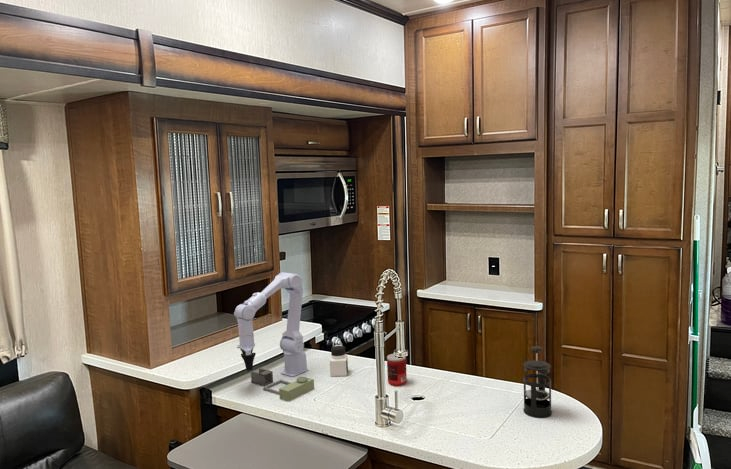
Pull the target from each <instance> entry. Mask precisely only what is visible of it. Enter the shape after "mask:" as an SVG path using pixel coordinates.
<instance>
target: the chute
mask: <svg viewBox="0 0 731 469" xmlns="http://www.w3.org/2000/svg"><path fill="white" fill-rule="evenodd" d="M250 381H251V383H252V384H255V385H257V386H259V387H260V386H261V387H262V388H263V387H265V386H267V385H270V384H272V383H274V372H273V370H270V369H265V368H263V367H258V372H257V371H254V370H250Z"/></svg>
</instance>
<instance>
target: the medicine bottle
mask: <svg viewBox="0 0 731 469" xmlns="http://www.w3.org/2000/svg"><path fill="white" fill-rule="evenodd" d="M330 352H331V353H330V358H329V372H330V377H332V378H333V377H347V376H348V375H349V374H348V372H349V362H348V354H346V346H344V345H341V344H336V345H333V346H332V347H331V348H330Z"/></svg>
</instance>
